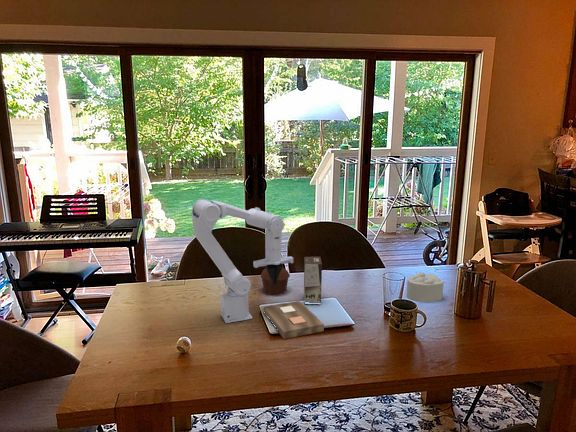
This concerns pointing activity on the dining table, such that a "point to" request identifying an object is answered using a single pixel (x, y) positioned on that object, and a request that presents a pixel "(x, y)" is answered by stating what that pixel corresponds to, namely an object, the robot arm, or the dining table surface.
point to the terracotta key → (297, 320)
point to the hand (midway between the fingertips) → (273, 283)
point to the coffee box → (312, 279)
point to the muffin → (280, 285)
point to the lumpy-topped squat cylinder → (424, 288)
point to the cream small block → (287, 309)
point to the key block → (283, 321)
